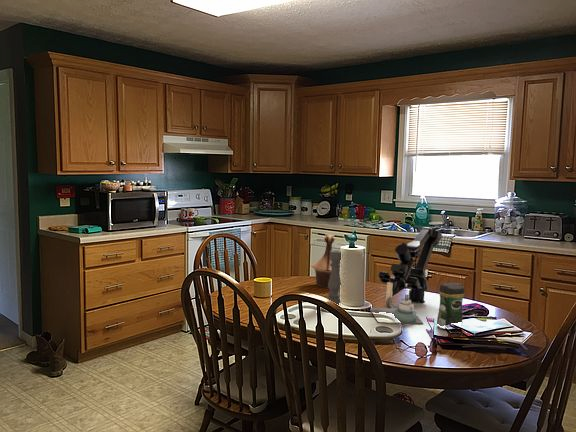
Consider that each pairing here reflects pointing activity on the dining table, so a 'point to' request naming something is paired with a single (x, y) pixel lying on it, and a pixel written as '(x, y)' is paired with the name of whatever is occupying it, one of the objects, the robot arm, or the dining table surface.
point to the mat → (393, 313)
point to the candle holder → (334, 277)
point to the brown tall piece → (324, 264)
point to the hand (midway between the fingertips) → (391, 295)
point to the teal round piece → (405, 316)
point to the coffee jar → (450, 303)
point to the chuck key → (402, 306)
